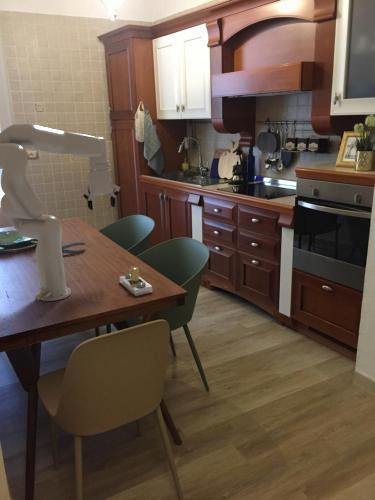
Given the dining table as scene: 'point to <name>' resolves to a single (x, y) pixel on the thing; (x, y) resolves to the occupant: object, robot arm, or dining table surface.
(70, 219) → the dining table surface
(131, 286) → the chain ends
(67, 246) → the pliers
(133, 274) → the pin
